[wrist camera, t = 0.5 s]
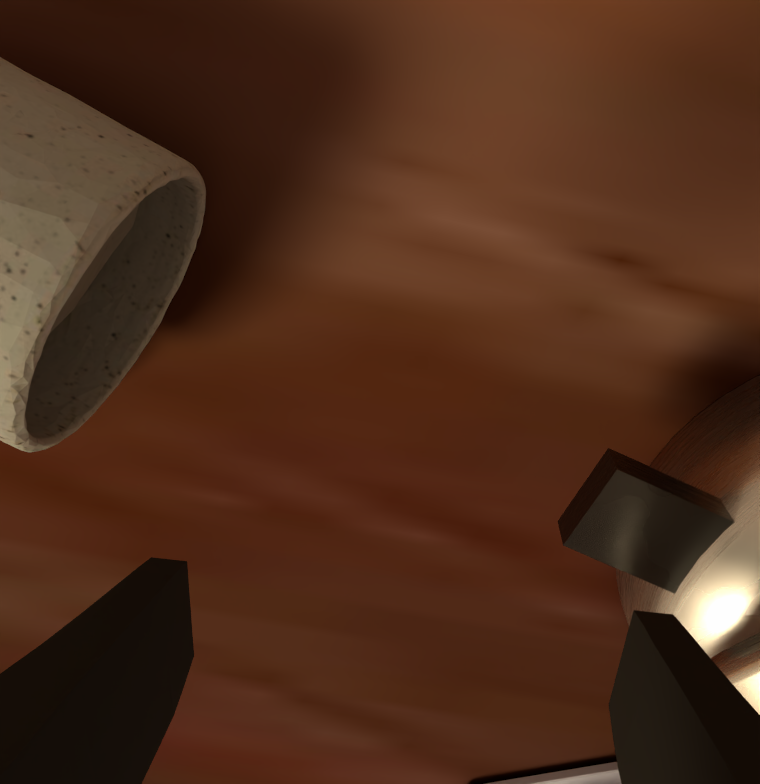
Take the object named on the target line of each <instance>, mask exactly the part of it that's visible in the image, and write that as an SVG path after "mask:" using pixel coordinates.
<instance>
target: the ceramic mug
mask: <svg viewBox="0 0 760 784" xmlns="http://www.w3.org/2000/svg"><path fill="white" fill-rule="evenodd" d="M205 204H206V187H205V183H204V180H203V178H202V176H201V175H200V173H199V171H198V170H197V169H196V168H195V167H194V165H192V164H191V163H190V162H188V161H187V160H185V159H183V158H181V157H179V156H177V155H176V154H174V153H172V152H170V151H168V150H167V149H165V148H163V147H161V146H160V145H158V144H156V143H154V142H152V141H151V140H149V139H147V138H145V137H143V136H141V135H139V134H138V133H136V132H134V131H132V130H130V129H128V128H127V127H125V126H123V125H121V124H120V123H118V122H116V121H115V120H113V119H111V118H109V117H108V116H106V115H104V114H102V113H101V112H99V111H97V110H96V109H94V108H92V107H90V106H89V105H87V104H85V103H83V102H82V101H80V100H78V99H77V98H75V97H73V96H71V95H69V94H67V93H65V92H64V91H62V90H60V89H58V88H56V87H54V86H52V85H50V84H48V83H46V82H44V81H42V80H40V79H38V78H36V77H34V76H32V75H31V74H29V73H27V72H25V71H23V70H22V69H20V68H18V67H16V66H15V65H13V64H11V63H10V62H8V61H6V60H4V59H3V58H1V57H0V440H1V441H3V442H5V443H7V444H9V445H11V446H13V447H15V448H18V449H20V450H22V451H26V452H35V451H40V450H45V449H47V448H49V447H52V446H54V445H56V444H58V443H60V442H61V441H62V440H63V439H65V438H66V437H68V436H69V435H71V434H72V433H74V432H75V431H77V430H78V429H79V428H80V427H81V426H82V425H83V424H84V423H85V422H86V421H87V420H88V419H89V418H90V417H91V416H92V415H93V414H94V413H95V411H96V410H97V409H98V408H99V407H100V406H101V404H102V403H103V402H104V401H105V400H106V399H107V398H108V396H109V395H110V394H111V393H112V392H113V391H114V389H115V388H116V387H117V386H118V385H119V383H120V382H121V381H122V379H123V378H124V376H125V375H126V374H127V372H128V371H129V370H130V368H131V367H132V366H133V364H134V363H135V362H136V361H137V359H138V357H139V355H140V354H141V352H142V351H143V349H144V348H145V347H146V345H147V344H148V342H149V341H150V339H151V337H152V336H153V334H154V333H155V331H156V329H157V328H158V326H159V325H160V323H161V321H162V319H163V317H164V314H165V312H166V310H167V308H168V306H169V304H170V302H171V300H172V298H173V297H174V295H175V293H176V292H177V290H178V288H179V286H180V284H181V282H182V280H183V278H184V275H185V273H186V270H187V268H188V265H189V263H190V260H191V258H192V255H193V253H194V251H195V249H196V244H197V240H198V238H199V236H200V233H201V228H202V224H203V217H204V212H205Z"/></svg>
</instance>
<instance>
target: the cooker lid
mask: <svg viewBox="0 0 760 784" xmlns="http://www.w3.org/2000/svg"><path fill="white" fill-rule="evenodd" d="M711 659H712V661H713V662H714V663H715V664H716V665H717V667H718V668H719V669H720V670H721V671H722V672H723V674H724V675H725V676H726V677H727V678H728V679H729V681H730V682H731V683H732V684H733V685H734V686H735V688H736V689H737V690H738V691H739V692H740V693H741V694H742V696H743V697H744V698H745V699H746V700H747V701H748V702H749V704H750V705H751V706H752V707H753V708H754V709H755V710H756V711H757V713H758V714H759V715H760V633H758V634H755V635H753V636H751V637H749V638H747V639H745V640H743V641H741V642H739V643H737V644H735V645H733V646H731V647H729V648H727V649H726V650H724V651H722V652H720V653H718V654H717V655H715V656H714V657H712V658H711Z"/></svg>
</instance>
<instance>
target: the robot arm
mask: <svg viewBox="0 0 760 784" xmlns="http://www.w3.org/2000/svg"><path fill="white" fill-rule="evenodd" d="M193 657H194V650H193V637H192V623H191V610H190V596H189V583H188V569H187V561H178V560H169V559H160V558H150V559H149V560H147V561H146V562H145V563H143V564H142V565H141V566H140V567H138V568H137V569H136V570H134V571H133V572H132V573H131V574H129V575H128V576H127V577H126V578H125V579H123V580H122V581H121V582H120V583H118V584H117V585H116V586H115V587H113V588H112V589H111V590H110V591H108V592H107V593H106V594H105V595H104V596H102V597H101V598H100V599H99V600H97V601H96V602H95V603H94V604H92V605H91V606H90V607H89V608H87V609H86V610H85V611H84V612H82V613H81V614H80V615H79V616H77V617H76V618H75V619H73V620H72V621H71V622H70V623H68V624H67V625H66V626H64V627H63V628H62V629H61V630H59V631H58V632H57V633H55V634H54V635H53V636H52V637H50V638H49V639H48V640H46V641H45V642H44V643H42V644H41V645H40V646H38V647H37V648H36V649H34V650H33V651H32V652H30V653H29V654H27V655H26V656H25V657H23V658H22V659H20V660H19V661H18V662H16V663H15V664H13V665H12V666H11V667H9V668H8V669H6V670H5V671H4V672H2V673H1V674H0V784H141V783H142V781H143V779H144V777H145V775H146V773H147V771H148V769H149V767H150V765H151V763H152V760H153V758H154V756H155V754H156V752H157V750H158V748H159V746H160V744H161V741H162V739H163V737H164V735H165V733H166V731H167V729H168V727H169V724H170V722H171V720H172V718H173V716H174V713H175V710H176V707H177V704H178V702H179V699H180V696H181V693H182V690H183V687H184V684H185V681H186V678H187V675H188V672H189V669H190V666H191V663H192V660H193ZM609 710H610V717H611V725H612V732H613V740H614V746H615V753H616V759H617V762H611V763H605V764H599V765H593V766H587V767H581V768H575V769H569V770H563V771H557V772H551V773H545V774H539V775H533V776H527V777H521V778H515V779H509V780H503V781H497V782H491V783H485V784H760V715H759V714H758V713H757V711H756V710H755V709H754V708H753V707H752V706H751V705H750V704H749V702H748V701H747V700H746V699H745V698H744V697H743V696H742V694H741V693H740V692H739V691H738V690H737V689H736V688H735V686H734V685H733V684H732V683H731V682H730V681H729V679H728V678H727V677H726V676H725V675H724V674H723V672H722V671H721V670H720V669H719V668H718V667H717V665H716V664H715V663H714V662H713V661H712V659H711V658H710V657H709V656H708V655H707V654H706V652H705V651H704V650H703V649H702V648H701V646H700V645H699V644H698V643H697V642H696V640H695V639H694V638H693V637H692V636H691V634H690V633H689V632H688V631H687V630H686V629H685V627H684V626H683V625H682V624H681V623H680V622H679V620H678V619H677V618H676V617H675V616H674V615H673V614H665V613H655V612H646V611H637V610H634V611H633V614H632V618H631V622H630V626H629V630H628V633H627V637H626V641H625V645H624V649H623V653H622V656H621V660H620V664H619V668H618V672H617V675H616V679H615V683H614V687H613V691H612V695H611V698H610V702H609Z"/></svg>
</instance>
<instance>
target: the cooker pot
mask: <svg viewBox="0 0 760 784" xmlns="http://www.w3.org/2000/svg"><path fill="white" fill-rule="evenodd" d="M558 524H559V529H560V533H561V537H562V542H563V545H564V546H566V547H568V548H571V549H573V550H575V551H578V552H580V553H582V554H585V555H587V556H589V557H591V558H594V559H596V560H598V561H601V562H603V563H605V564H608V565H610V566H612V567H614V568H616V576H617V585H618V589H619V594H620V599H621V603H622V606H623V609H624V613H625V616H626V619H627V622H628V625H629V626H630V622H631V618H632V614H633V611H634V610H637V611H646V612H655V613H665V614H673V615H674V616H675V617H676V618H677V619H678V620H679V622H680V623H681V624H682V625H683V626H684V627H685V629H686V630H687V631H688V632H689V633H690V634H691V636H692V637H693V638H694V639H695V640H696V642H697V643H698V644H699V645H700V646H701V648H702V649H703V650H704V651H705V652H706V654H707V655H708V656H709V657H710V658H712V657H714V656H715V655H717V654H718V653H720V652H722V651H724V650H726V649H727V648H729V647H731V646H733V645H735V644H737V643H739V642H741V641H743V640H745V639H747V638H749V637H751V636H753V635H755V634H758V633H760V375H759V376H757V377H755V378H753V379H751V380H749V381H748V382H746V383H744V384H742V385H741V386H739V387H737V388H736V389H734V390H732V391H731V392H729V393H727V394H726V395H724V396H722V397H721V398H719V399H718V400H717V401H715V402H714V403H713V404H711V405H710V406H709V407H707V408H706V409H705V410H703V411H702V412H701V413H699V414H698V415H697V416H695V417H694V418H693V419H692V420H691V421H690V422H689V423H688V424H687V425H686V426H685V427H684V428H683V429H681V430H680V431H679V432H678V433H677V434H676V435H675V436H674V437H673V438H672V439H671V440H670V441H669V442H668V444H667V445H666V446H665V447H664V448H663V450H662V451H661V452H660V453H659V454H658V456H657V457H656V458H655V459H654V460H653V462H652V463H651V465H650V466H647V465H645V464H642V463H640V462H638V461H636V460H634V459H631V458H629V457H627V456H625V455H623V454H620V453H618V452H616V451H614V450H612V449H609V448H608V449H607V451H606V452H605V454H604V455H603V457H602V458H601V459H600V461H599V462H598V464H597V465H596V467H595V468H594V470H593V471H592V473H591V474H590V475H589V477H588V478H587V480H586V481H585V483H584V484H583V486H582V487H581V488H580V490H579V491H578V493H577V494H576V496H575V497H574V499H573V500H572V501H571V503H570V504H569V506H568V507H567V509H566V510H565V512H564V513H563V514H562V516H561V517H560V519H559V520H558Z"/></svg>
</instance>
